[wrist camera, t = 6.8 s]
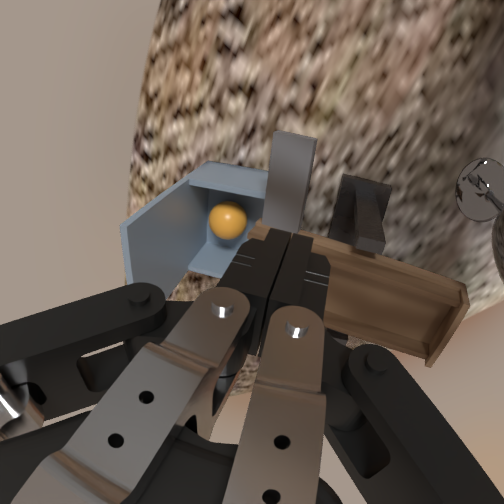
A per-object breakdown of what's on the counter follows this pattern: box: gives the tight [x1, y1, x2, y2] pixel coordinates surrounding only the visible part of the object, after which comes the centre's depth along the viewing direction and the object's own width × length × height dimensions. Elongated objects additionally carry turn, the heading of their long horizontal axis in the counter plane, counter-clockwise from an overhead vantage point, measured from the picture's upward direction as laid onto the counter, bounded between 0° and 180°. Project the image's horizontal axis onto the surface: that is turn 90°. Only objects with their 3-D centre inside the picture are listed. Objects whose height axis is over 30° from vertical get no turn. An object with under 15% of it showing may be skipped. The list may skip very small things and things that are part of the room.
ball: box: [209, 201, 247, 240], centre depth 34 cm, size 4×4×4 cm
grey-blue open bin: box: [120, 161, 268, 299], centre depth 29 cm, size 10×10×16 cm
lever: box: [247, 130, 470, 368], centre depth 23 cm, size 14×18×3 cm
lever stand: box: [325, 174, 392, 346], centre depth 29 cm, size 13×5×11 cm, turn 173°
